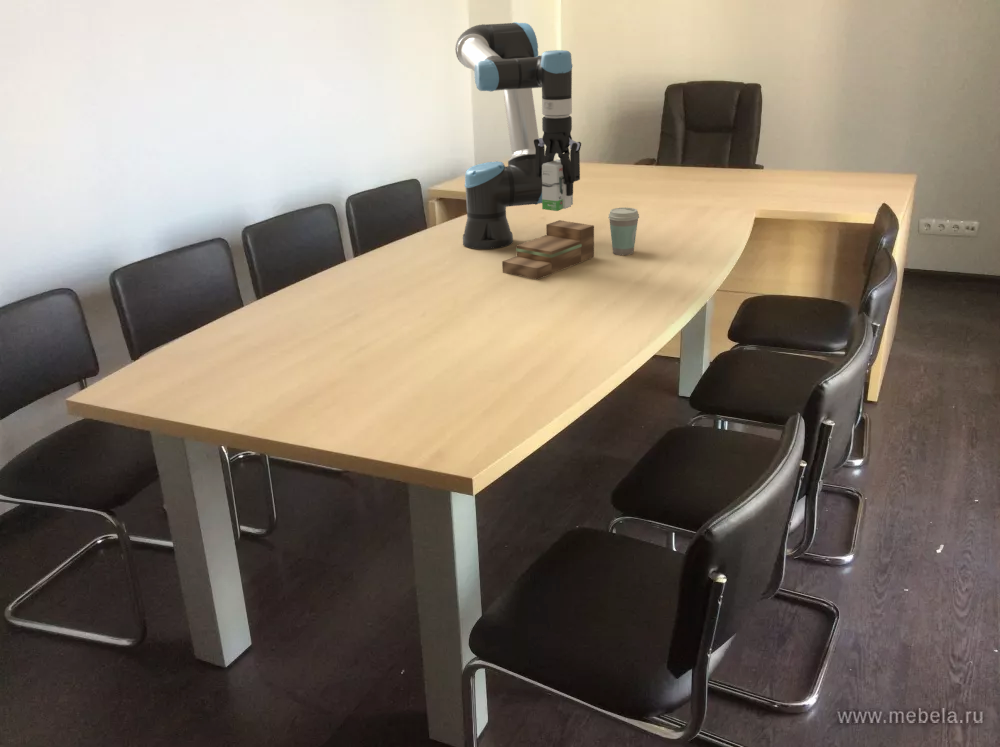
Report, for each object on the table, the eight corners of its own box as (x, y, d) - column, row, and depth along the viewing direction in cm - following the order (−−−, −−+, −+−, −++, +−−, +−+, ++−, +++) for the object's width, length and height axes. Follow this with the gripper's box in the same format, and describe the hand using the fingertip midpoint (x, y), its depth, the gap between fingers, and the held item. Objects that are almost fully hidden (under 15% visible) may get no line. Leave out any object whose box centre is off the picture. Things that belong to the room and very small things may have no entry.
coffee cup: (637, 256, 233) (638, 213, 229) (606, 256, 235) (607, 213, 230) (639, 248, 241) (640, 207, 236) (609, 248, 243) (609, 207, 238)
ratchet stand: (502, 272, 226) (500, 239, 222) (559, 251, 242) (559, 220, 239) (537, 279, 218) (536, 245, 214) (594, 257, 235) (594, 225, 231)
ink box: (557, 211, 219) (557, 166, 214) (541, 209, 222) (540, 164, 217) (573, 204, 226) (573, 160, 221) (557, 202, 228) (557, 158, 223)
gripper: (519, 115, 217) (521, 204, 226) (578, 120, 206) (578, 213, 216) (537, 111, 222) (538, 199, 232) (595, 116, 211) (594, 207, 221)
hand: (557, 205), depth 224 cm, fingers closed on ink box, 5 cm apart
